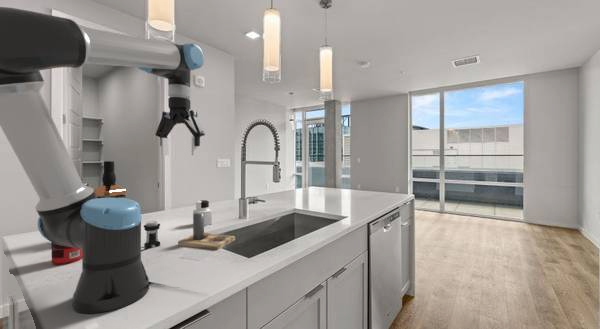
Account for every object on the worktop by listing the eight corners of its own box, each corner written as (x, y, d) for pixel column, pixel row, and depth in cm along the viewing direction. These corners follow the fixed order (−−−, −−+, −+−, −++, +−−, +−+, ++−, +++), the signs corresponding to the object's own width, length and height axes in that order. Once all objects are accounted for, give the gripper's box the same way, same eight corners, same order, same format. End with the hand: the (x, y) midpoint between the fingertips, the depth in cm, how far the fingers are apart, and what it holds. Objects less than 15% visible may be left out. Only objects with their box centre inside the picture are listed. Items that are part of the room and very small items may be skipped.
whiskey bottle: (107, 240, 106) (106, 161, 105) (88, 238, 109) (87, 161, 108) (129, 233, 116) (129, 161, 115) (112, 231, 119) (111, 160, 118)
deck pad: (199, 263, 84) (199, 260, 84) (178, 260, 87) (178, 257, 87) (214, 254, 92) (214, 251, 92) (194, 252, 94) (194, 249, 94)
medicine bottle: (206, 221, 139) (206, 199, 138) (212, 224, 133) (212, 200, 133) (192, 223, 134) (192, 200, 134) (197, 226, 129) (197, 202, 128)
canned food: (87, 254, 91) (86, 223, 91) (77, 263, 84) (76, 229, 83) (59, 257, 88) (58, 225, 88) (46, 266, 81) (45, 231, 80)
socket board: (217, 252, 94) (217, 245, 94) (178, 247, 99) (178, 240, 99) (234, 242, 105) (234, 235, 105) (199, 238, 110) (199, 231, 110)
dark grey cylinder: (199, 246, 101) (199, 214, 101) (191, 245, 102) (190, 214, 102) (206, 242, 105) (206, 212, 104) (197, 241, 106) (197, 212, 106)
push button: (142, 254, 92) (142, 225, 92) (137, 250, 96) (137, 223, 95) (162, 249, 97) (162, 222, 97) (157, 245, 101) (157, 219, 100)
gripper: (214, 98, 98) (214, 155, 99) (160, 102, 105) (160, 155, 106) (201, 93, 91) (201, 155, 92) (144, 98, 98) (145, 154, 99)
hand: (179, 155), depth 99 cm, fingers open, 13 cm apart
